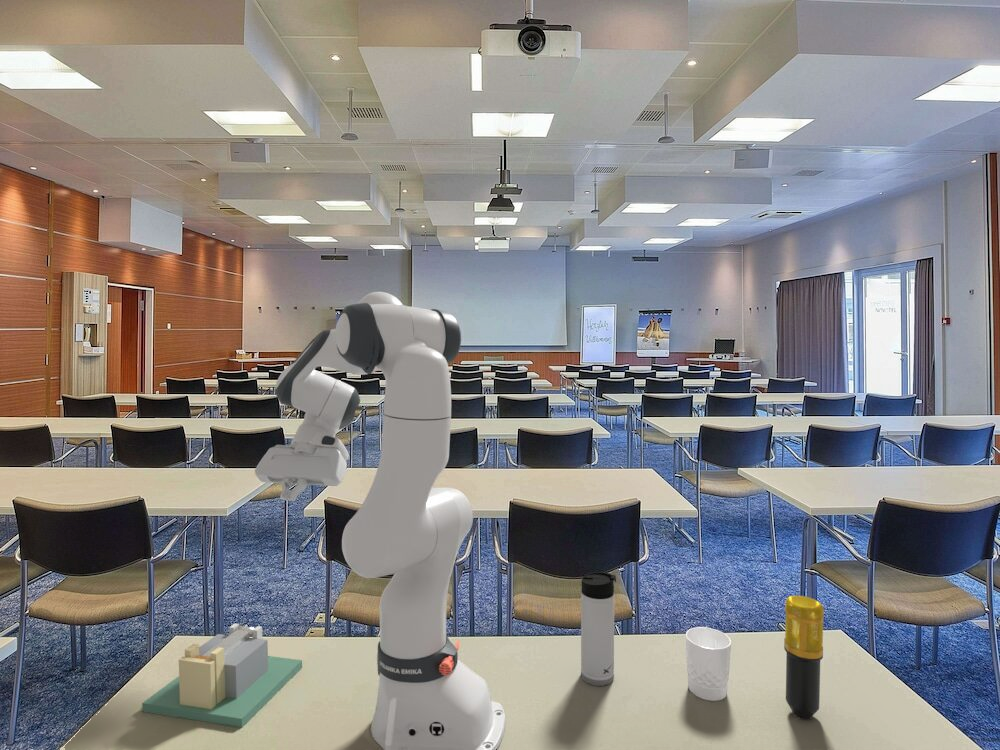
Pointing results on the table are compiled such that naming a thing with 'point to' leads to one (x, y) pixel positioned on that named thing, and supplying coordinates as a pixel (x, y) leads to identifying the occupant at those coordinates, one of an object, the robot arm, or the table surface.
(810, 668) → the microphone
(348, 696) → the table surface
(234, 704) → the base
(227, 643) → the retention strap
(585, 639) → the travel mug
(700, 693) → the white cup
